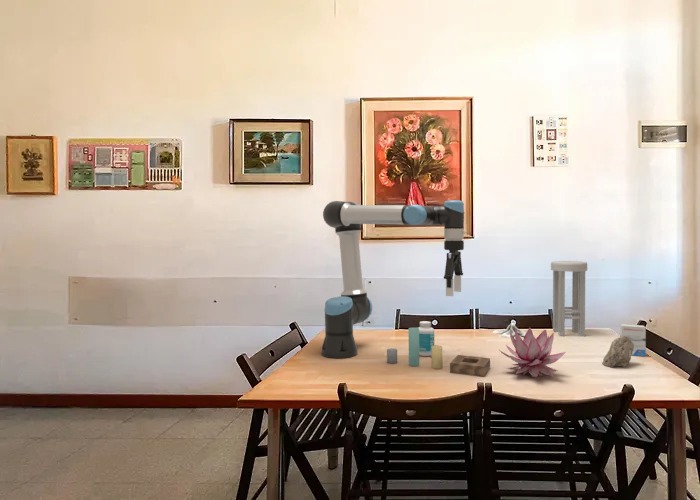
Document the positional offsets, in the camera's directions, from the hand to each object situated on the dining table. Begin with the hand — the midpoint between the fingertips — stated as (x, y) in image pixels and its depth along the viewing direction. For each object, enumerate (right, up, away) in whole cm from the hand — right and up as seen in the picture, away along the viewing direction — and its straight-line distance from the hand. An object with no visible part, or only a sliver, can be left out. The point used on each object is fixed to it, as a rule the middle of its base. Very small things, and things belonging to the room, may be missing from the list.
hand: (453, 293), depth 186 cm
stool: (+65, -24, +43) cm, 82 cm away
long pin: (-16, -27, -5) cm, 32 cm away
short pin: (-24, -27, -1) cm, 36 cm away
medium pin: (-8, -27, -9) cm, 30 cm away
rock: (+60, -26, -9) cm, 66 cm away
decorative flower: (+24, -27, -18) cm, 40 cm away
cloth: (+39, -25, +45) cm, 64 cm away
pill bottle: (-10, -26, +9) cm, 29 cm away
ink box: (+74, -25, +5) cm, 78 cm away
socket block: (+3, -27, -13) cm, 30 cm away
